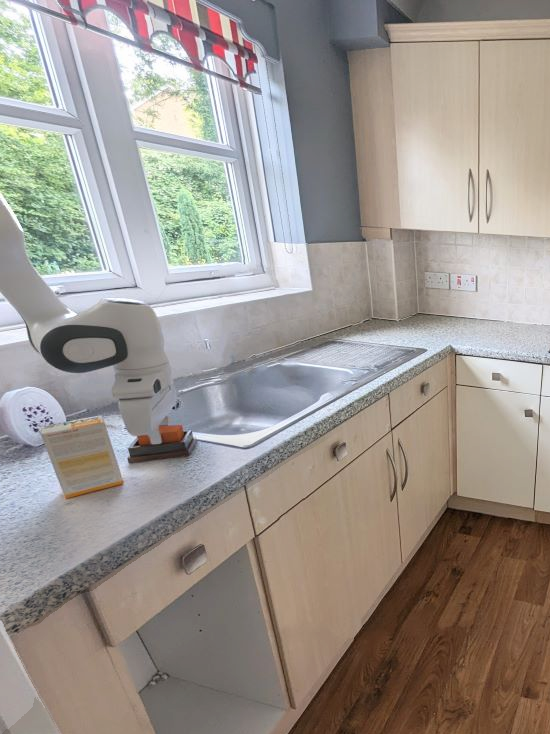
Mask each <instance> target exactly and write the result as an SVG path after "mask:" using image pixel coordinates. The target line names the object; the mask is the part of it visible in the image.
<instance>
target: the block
mask: <svg viewBox="0 0 550 734" xmlns="http://www.w3.org/2000/svg"><path fill="white" fill-rule="evenodd" d="M183 431H184V428H183V424H174V425H169V426H162V427H159V432H160V434H162V436H163V441H162V443H170V442H179V441H182V440H183V439H184V437H185V436H184V432H183ZM136 438H137V439H138V442H139V446H144V445H153V444H151V441H150V438H149V436H148V435H141V436H136ZM162 443H161V444H162Z"/></svg>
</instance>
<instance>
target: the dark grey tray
mask: <svg viewBox="0 0 550 734" xmlns="http://www.w3.org/2000/svg"><path fill="white" fill-rule="evenodd" d="M183 432H184V436H185V437H184V439H183V440H182V441H179V442H170V443H162V444H154V445H144V446H139V442H138V439H137V437H136V438H135V439H134V440H133V441H132V442H131V444H130V445H129V446H128V447H127V450H128V456H127V463H128V464H133V463H141V462H148V461H159V460H164V459H165V460H166V459H173V458H181V457H189V456H191V453H192V452H193V450H194V448H195V446H196V444H197V442H198V441H197V440H198V439H197V437H196V436H194V434H193V430H192V429H187V430H183Z"/></svg>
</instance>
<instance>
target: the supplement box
mask: <svg viewBox="0 0 550 734" xmlns="http://www.w3.org/2000/svg"><path fill="white" fill-rule="evenodd" d="M108 431H109V430H108V428H107V425H106V422H105V420H104V418H103V415H102V414H99V415H94V416H90V417H83V418H78V419H73V420H67V421H61V422H56V423H50V424H45V425H41V426H40V436H41V439H42V441H43V443H44V446H45V449H46V452H47V455H48V456H49V460H50V462H51V465H52V467H53V470H54V472H55V476H56V478H57V481H58V484H59V486H60V489H61V491H62V493H63V495H64V498H65V499H69V498H70V499H71V498H73V497H77V496H81V495H85V494H88V493H93V492H97V491H100V490H104V489H109V488H111V487H116V486H119V485H123V484H124V480H123V476H122V473H121V470H120V466H119V463H118V459H117V457H116V454H115V451H114V448H113V444H112V441H111V438H110V434H109V432H108Z"/></svg>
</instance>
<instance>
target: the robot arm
mask: <svg viewBox="0 0 550 734" xmlns="http://www.w3.org/2000/svg"><path fill="white" fill-rule="evenodd" d="M25 236H26V235H25V231H24V230H23V228H22V225H21V224H20V222H19V220H18V218H17V216H16V214H15V212H14V211H13V210H12V208H11V207H10V205H9V204H8V202H7V200H6V199H5V198H4V196H3V195H2V194H1V193H0V294H1V295H2V296H3V297H4V299H6V301H7V302H8V303H9V304H10V305H11V306H12V308H13V309H14V310H15V311H16V312H17V314H19V316H20V317H21V318H22V320H23V322H24V324H25V328H26V332H27V338H28V341H29V343H30V345H31V347H32V348H33V350H34V351H35V352H36V353H37V354H39V355H40V356H41V357H42V358H43V360H45V361H46V363H47V364H49V365H50V366H52V367H53V368H55V369H57V370H58V371H62V372H65V373H72V374H84V373H90V372H94V371H98V370H103V369H105V368H109V367H111V366H112V368H113V371H114V382H113V384H112V385H111V388H110V393H111V397H112V399H113V400H118V403H117V404H118V411H119V413H120V417H121V419H122V422H123V424H124V428H125V429H126V431H127V434H129V435H130V436H132V437H137V436H141V435H148V436H149V438H150V441H151V444H153V445H154V444H161V443H162V441H163V436H162V434H160V432H159V427H162V426H170V412H171V410H172V409H173V408H174V407H175V405H176V404H177V402H178V396H177V392H176V389H175V386H174V383H175V381H174V376H173V372H172V367H171V364H170V360H169V357H168V356H167V354H166V352H165V349H164V345H165V339H164V334H163V331H162V327H161V325H160V321H159V319H158V316H157V314H156V312H155V310H154V308H153V307H152V306H151V305H149V303H148V304H147V303H146V302H144V301H141V300H138V299H133V298H126V297H105V298H104V297H103V298H102V299H99V301H98V302H97V303H96V304H94V305H92V306H90V307H89V308H87V309H85V310H83V311H81V312H79V313H77V312H76V311H74V310H72V309H70V308H69V307H68V305H66V304H64V302H63V301H61V299H60V298H59V297H58V296H57V294H56V293H55V292H54V291H53V289H52V288H51V287H50V285H49V284H48V283H47V282H46V281H45V280H44V278H43V276H41V275H40V273H39V272H38V271H37V269H36V268H35V266H34V265H33V263H32V261H31V259H30V256H29V255H28V251H27V247H26V237H25Z"/></svg>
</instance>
